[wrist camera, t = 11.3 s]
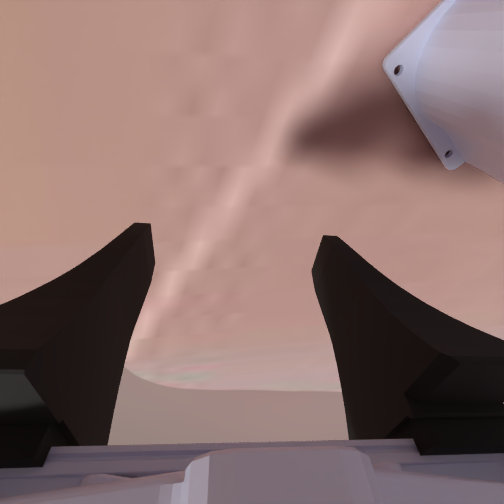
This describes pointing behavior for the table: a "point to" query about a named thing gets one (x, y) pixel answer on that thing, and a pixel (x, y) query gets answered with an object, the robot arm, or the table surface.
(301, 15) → the table surface
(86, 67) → the table surface
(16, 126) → the table surface
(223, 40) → the table surface
